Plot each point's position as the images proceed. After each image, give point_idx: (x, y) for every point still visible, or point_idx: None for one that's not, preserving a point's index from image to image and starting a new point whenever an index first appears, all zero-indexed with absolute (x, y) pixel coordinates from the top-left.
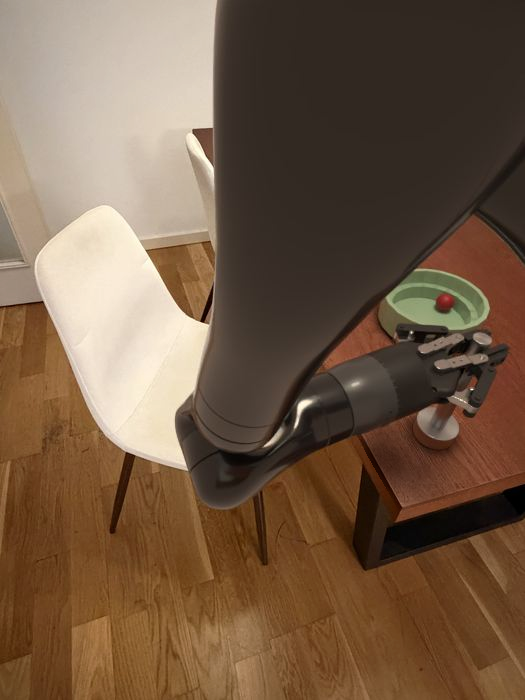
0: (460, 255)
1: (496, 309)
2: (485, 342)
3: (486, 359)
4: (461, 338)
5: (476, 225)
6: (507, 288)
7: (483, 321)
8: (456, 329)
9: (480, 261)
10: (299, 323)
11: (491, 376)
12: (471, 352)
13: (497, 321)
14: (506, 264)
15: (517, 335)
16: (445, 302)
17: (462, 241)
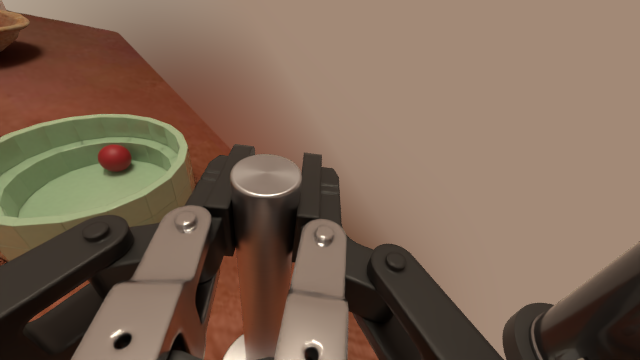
0: (98, 99)
1: (186, 135)
2: (288, 180)
3: (340, 234)
4: (201, 220)
5: (95, 67)
6: (179, 111)
7: (187, 152)
8: (160, 184)
9: (128, 97)
10: None
11: (428, 289)
12: (266, 239)
13: (198, 147)
14: (158, 91)
15: (229, 150)
16: (115, 157)
17: (89, 85)
